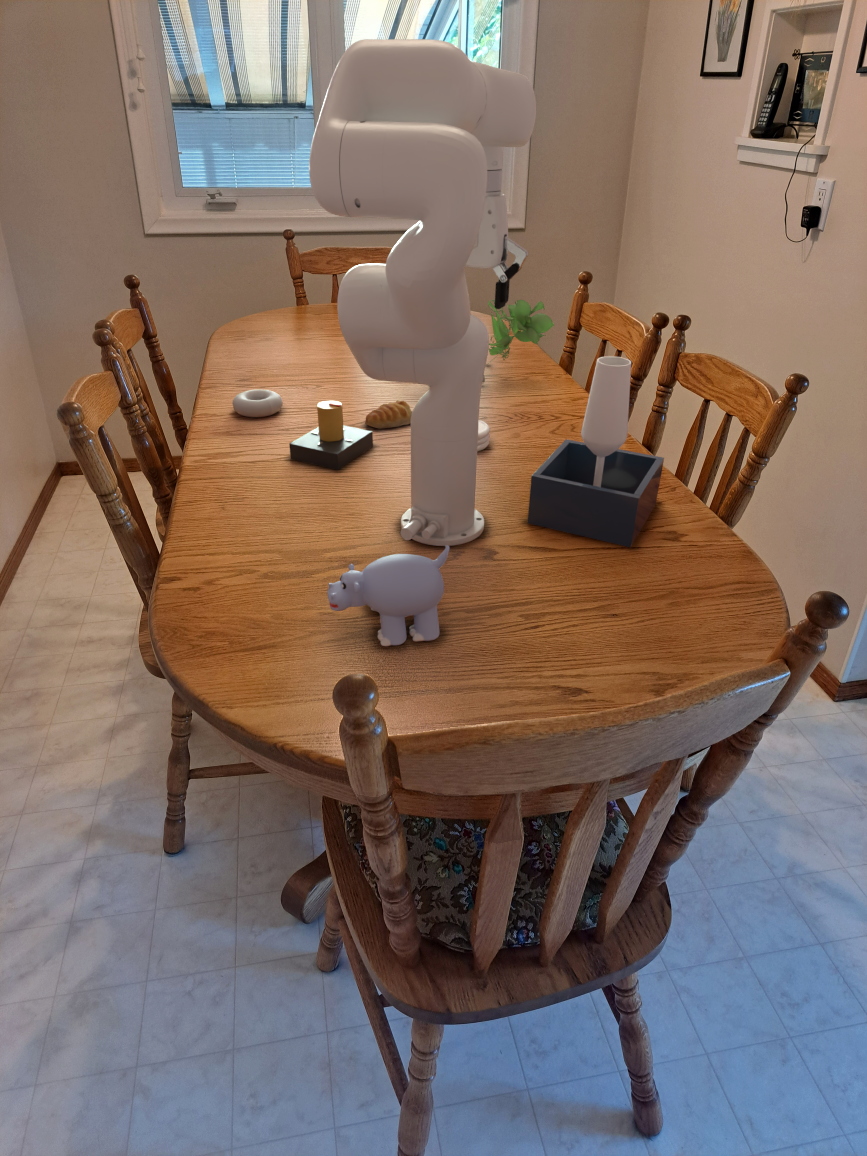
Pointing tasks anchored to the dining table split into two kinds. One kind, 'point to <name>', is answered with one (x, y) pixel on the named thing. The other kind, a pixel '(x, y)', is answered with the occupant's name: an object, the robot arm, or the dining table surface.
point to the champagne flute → (607, 410)
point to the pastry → (390, 415)
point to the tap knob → (330, 420)
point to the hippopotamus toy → (395, 594)
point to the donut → (257, 403)
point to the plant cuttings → (518, 326)
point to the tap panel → (331, 448)
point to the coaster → (483, 435)
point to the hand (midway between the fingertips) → (471, 304)
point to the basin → (595, 493)
